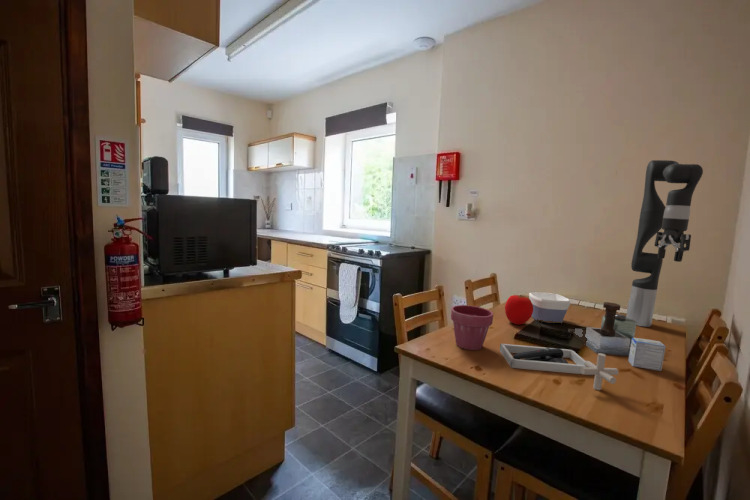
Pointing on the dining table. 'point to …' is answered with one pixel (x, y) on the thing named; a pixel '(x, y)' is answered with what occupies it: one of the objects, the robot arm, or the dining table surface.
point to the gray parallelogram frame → (541, 365)
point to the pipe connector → (599, 371)
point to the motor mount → (611, 344)
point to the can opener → (542, 355)
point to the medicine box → (646, 354)
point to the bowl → (549, 306)
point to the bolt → (609, 318)
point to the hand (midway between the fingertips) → (668, 259)
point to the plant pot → (471, 325)
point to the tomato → (518, 309)
